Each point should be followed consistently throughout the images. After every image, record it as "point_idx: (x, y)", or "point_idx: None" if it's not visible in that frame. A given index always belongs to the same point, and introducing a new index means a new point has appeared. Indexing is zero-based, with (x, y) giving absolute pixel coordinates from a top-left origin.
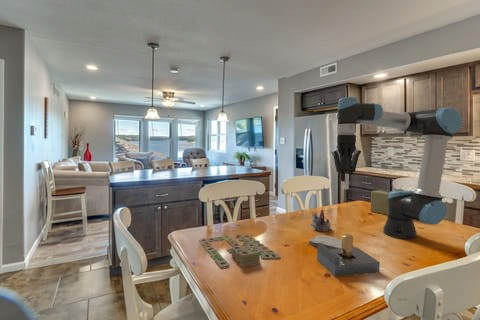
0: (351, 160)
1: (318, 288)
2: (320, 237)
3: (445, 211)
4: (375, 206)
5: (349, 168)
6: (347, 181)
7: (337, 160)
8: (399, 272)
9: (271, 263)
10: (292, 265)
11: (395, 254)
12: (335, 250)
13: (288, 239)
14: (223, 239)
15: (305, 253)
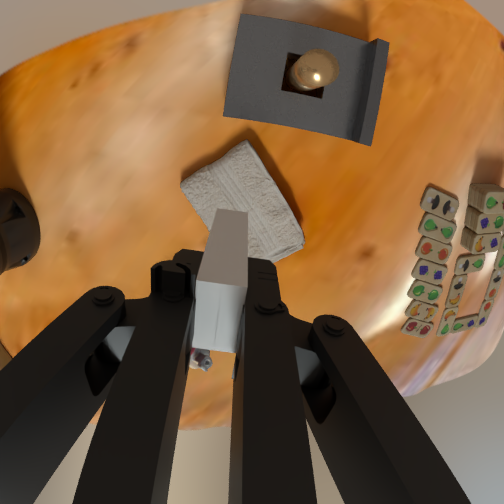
0: (85, 465)
1: (427, 39)
2: (257, 251)
3: None
4: (3, 364)
5: (169, 340)
6: (224, 238)
7: (444, 472)
8: (188, 10)
9: (453, 173)
10: (423, 142)
11: (105, 102)
12: (310, 120)
13: (334, 287)
14: (455, 320)
15: (355, 187)
